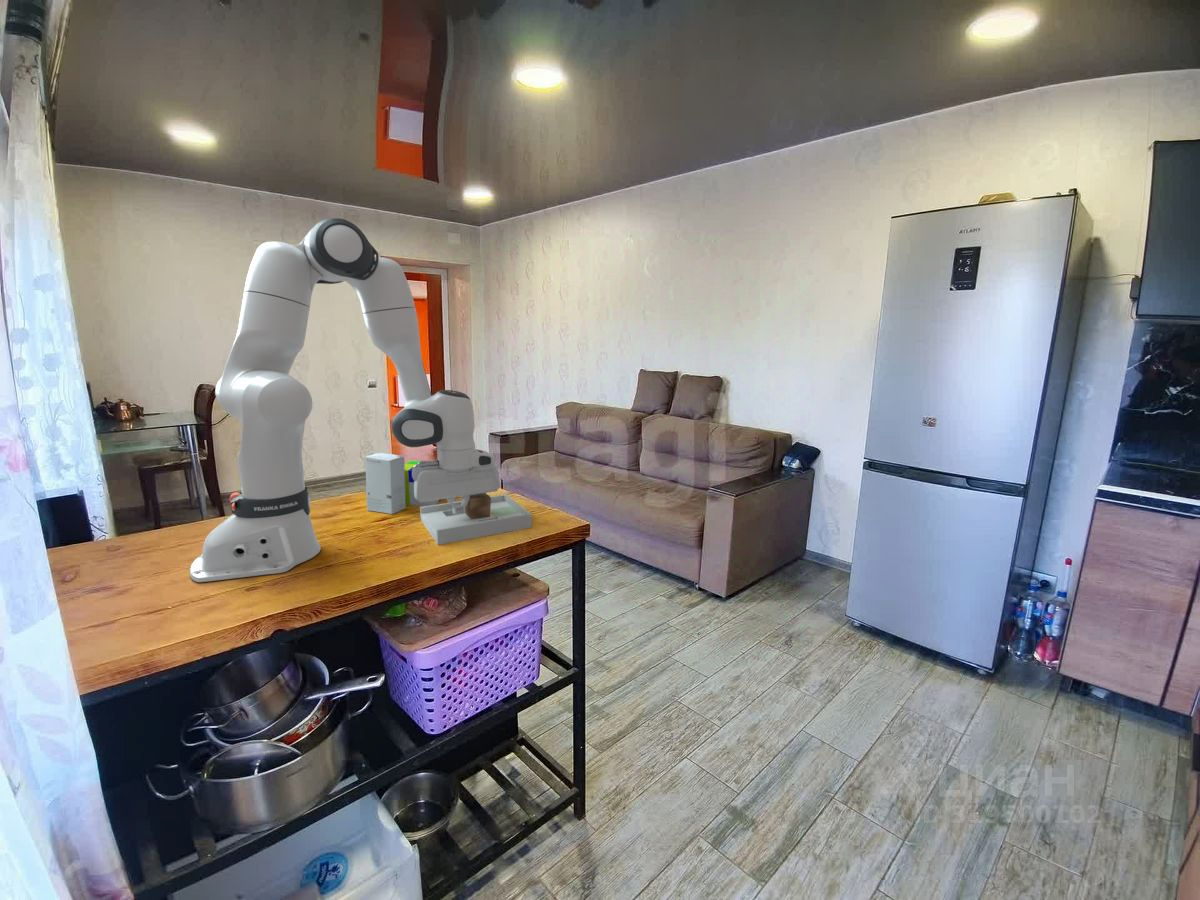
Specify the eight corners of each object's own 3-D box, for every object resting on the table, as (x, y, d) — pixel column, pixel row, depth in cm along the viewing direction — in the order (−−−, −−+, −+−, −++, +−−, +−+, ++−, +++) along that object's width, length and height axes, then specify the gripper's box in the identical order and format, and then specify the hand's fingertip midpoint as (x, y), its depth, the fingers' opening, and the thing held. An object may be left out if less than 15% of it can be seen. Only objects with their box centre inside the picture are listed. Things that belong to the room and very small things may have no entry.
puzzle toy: (434, 506, 141) (432, 471, 139) (398, 505, 141) (395, 470, 139) (445, 494, 151) (444, 461, 149) (412, 494, 151) (409, 461, 149)
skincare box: (366, 511, 136) (362, 456, 133) (382, 504, 142) (378, 451, 138) (393, 515, 134) (389, 459, 130) (408, 507, 140) (404, 454, 136)
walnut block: (470, 518, 126) (471, 498, 125) (464, 512, 130) (465, 493, 129) (490, 516, 128) (491, 497, 127) (483, 510, 133) (484, 492, 132)
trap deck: (438, 544, 116) (437, 530, 115) (420, 520, 131) (420, 506, 130) (531, 527, 127) (531, 514, 127) (506, 506, 142) (505, 494, 141)
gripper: (414, 466, 115) (417, 524, 118) (501, 456, 125) (502, 510, 129) (408, 460, 121) (412, 515, 124) (492, 451, 131) (494, 503, 134)
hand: (459, 513), depth 126 cm, fingers closed
